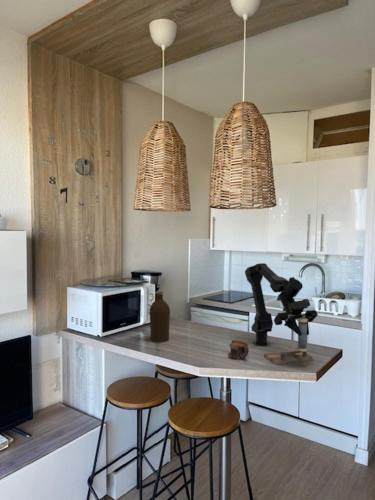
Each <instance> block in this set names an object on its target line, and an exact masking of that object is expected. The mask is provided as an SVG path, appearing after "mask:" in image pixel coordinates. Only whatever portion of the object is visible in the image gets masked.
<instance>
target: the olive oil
mask: <svg viewBox="0 0 375 500" xmlns="http://www.w3.org/2000/svg"><path fill="white" fill-rule="evenodd" d="M155 295H156V299H155V300H154V301H153V302H152V303H151V305H150V307H149V313H148V314H149V324H150V325H149V326H150V340H151V342H154V343H165V342H168V341H169V340H170V320H171V308H170V305H169V304H168V303H167V302H166V301H165V300H164V294H163V291H156V294H155Z"/></svg>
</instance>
